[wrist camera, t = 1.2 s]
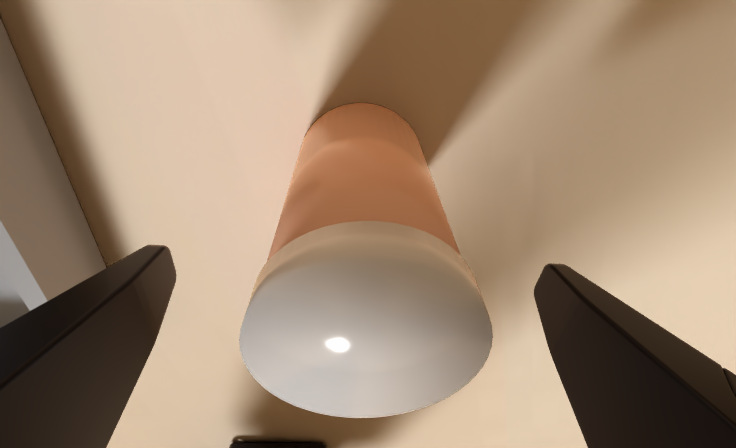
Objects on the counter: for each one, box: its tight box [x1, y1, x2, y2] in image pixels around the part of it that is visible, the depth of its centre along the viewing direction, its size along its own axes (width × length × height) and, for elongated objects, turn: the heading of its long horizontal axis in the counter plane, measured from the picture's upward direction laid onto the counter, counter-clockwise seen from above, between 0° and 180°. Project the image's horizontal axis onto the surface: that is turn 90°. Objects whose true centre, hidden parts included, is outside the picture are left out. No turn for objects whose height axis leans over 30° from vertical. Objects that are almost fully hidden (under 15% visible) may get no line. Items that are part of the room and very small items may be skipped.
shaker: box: [239, 103, 493, 418], centre depth 10 cm, size 5×5×8 cm
